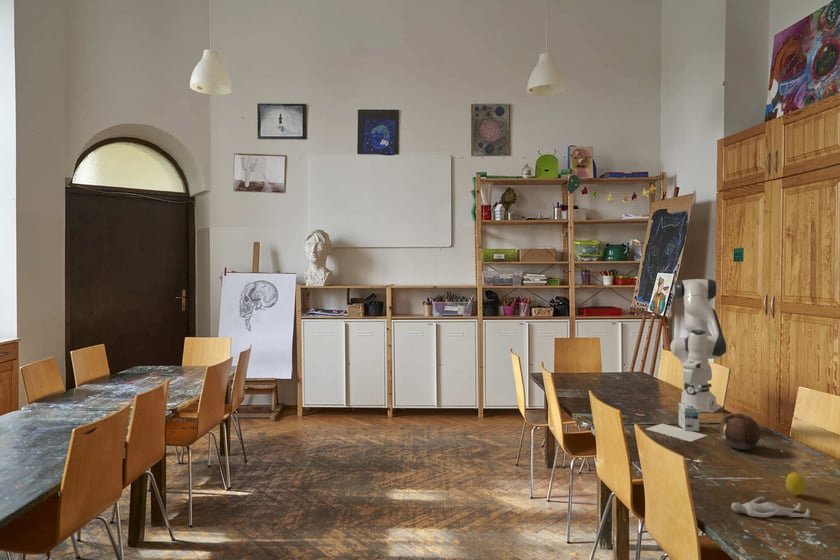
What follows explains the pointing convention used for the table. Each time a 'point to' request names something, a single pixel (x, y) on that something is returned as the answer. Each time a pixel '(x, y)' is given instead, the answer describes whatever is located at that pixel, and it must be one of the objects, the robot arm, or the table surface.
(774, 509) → the male figure
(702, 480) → the table surface
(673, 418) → the table surface
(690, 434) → the mat
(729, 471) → the table surface
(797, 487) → the lemon
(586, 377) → the table surface
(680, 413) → the light bulb box
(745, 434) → the wooden sphere
